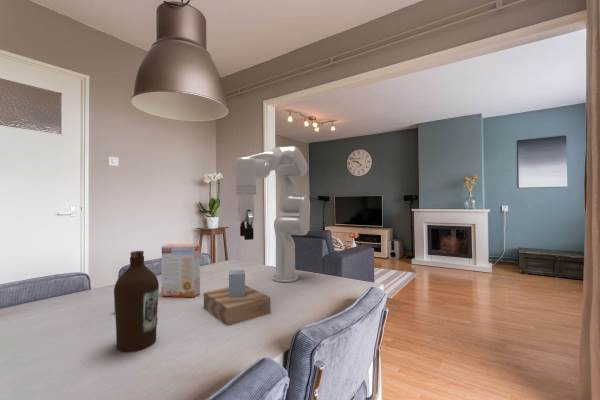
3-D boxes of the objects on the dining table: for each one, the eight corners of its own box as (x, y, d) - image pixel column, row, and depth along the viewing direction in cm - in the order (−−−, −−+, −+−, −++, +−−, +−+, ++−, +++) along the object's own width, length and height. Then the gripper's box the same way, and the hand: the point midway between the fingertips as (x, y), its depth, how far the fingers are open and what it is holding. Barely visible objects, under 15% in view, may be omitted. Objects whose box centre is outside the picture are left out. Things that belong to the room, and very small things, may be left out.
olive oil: (104, 353, 74) (104, 255, 74) (130, 334, 84) (130, 248, 84) (144, 353, 73) (145, 255, 73) (165, 334, 84) (165, 248, 84)
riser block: (203, 308, 106) (203, 292, 106) (243, 299, 116) (243, 284, 116) (227, 327, 90) (227, 307, 90) (270, 314, 100) (270, 297, 100)
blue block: (228, 292, 105) (228, 270, 105) (244, 291, 106) (244, 269, 106) (228, 297, 100) (228, 274, 100) (245, 296, 101) (245, 273, 101)
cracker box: (200, 293, 122) (200, 243, 122) (193, 298, 116) (194, 245, 116) (169, 292, 123) (169, 243, 123) (160, 297, 117) (160, 245, 117)
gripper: (232, 191, 113) (233, 235, 113) (239, 191, 97) (239, 241, 97) (251, 191, 116) (252, 234, 116) (261, 190, 99) (261, 240, 100)
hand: (246, 237), depth 107 cm, fingers open, 9 cm apart
